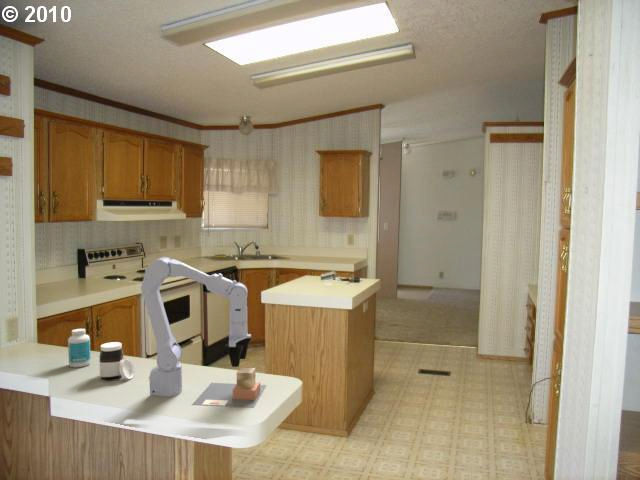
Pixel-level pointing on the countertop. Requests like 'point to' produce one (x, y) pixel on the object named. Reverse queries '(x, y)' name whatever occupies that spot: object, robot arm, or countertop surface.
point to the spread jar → (114, 363)
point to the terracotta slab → (246, 392)
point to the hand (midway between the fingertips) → (238, 362)
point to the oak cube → (245, 378)
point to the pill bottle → (79, 348)
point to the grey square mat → (224, 396)
